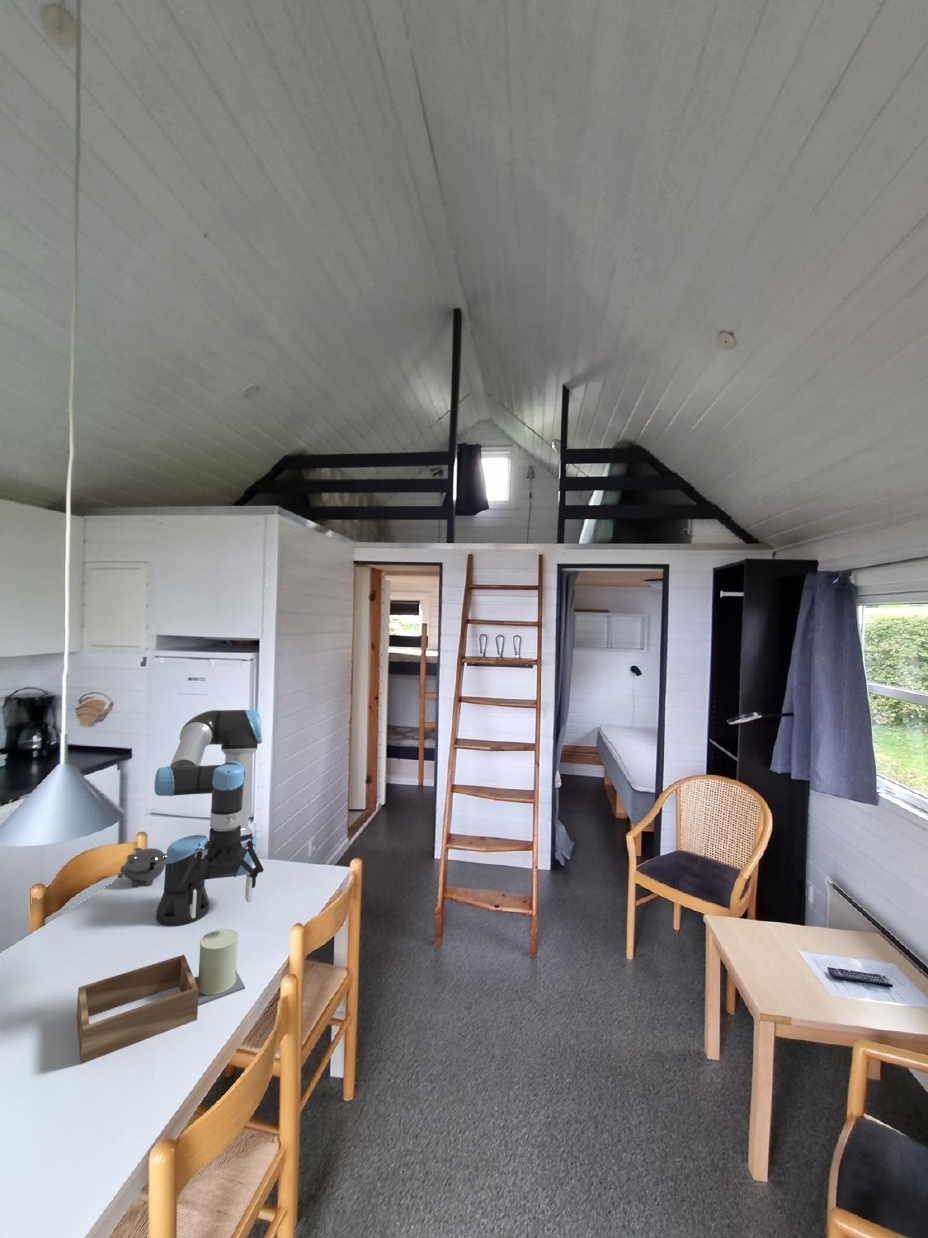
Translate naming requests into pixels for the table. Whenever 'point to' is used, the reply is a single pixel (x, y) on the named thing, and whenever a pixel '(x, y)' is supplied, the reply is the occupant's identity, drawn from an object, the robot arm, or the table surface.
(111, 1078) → the table surface
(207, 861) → the robot arm
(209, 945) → the can
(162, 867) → the piggy bank
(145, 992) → the crate
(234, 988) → the mat
